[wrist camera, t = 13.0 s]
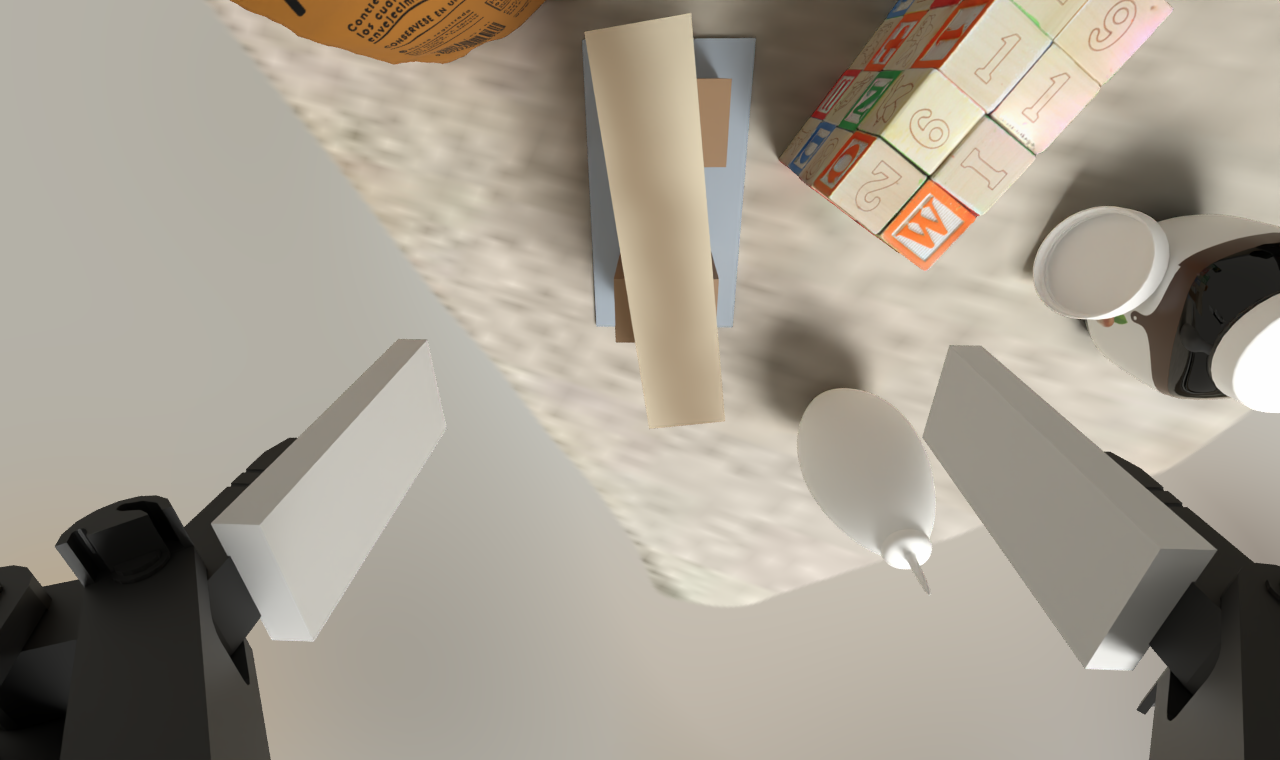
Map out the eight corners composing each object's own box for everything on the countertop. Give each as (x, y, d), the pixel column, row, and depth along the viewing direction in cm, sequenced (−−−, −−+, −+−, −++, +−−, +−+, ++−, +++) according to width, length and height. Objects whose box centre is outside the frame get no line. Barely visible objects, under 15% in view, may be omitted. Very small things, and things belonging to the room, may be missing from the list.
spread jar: (1183, 333, 39) (1365, 422, 29) (1015, 366, 41) (1132, 461, 31) (1223, 161, 34) (1463, 198, 24) (1027, 208, 36) (1172, 261, 26)
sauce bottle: (774, 443, 45) (834, 638, 30) (795, 359, 42) (876, 532, 26) (867, 451, 45) (977, 650, 30) (897, 368, 42) (1040, 546, 26)
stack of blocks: (1071, -241, 26) (1363, -466, 15) (1152, -145, 27) (1469, -287, 17) (775, 161, 35) (826, 199, 24) (848, 217, 36) (926, 276, 26)
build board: (755, 38, 32) (778, 28, 25) (732, 325, 40) (745, 372, 34) (582, 40, 32) (562, 31, 26) (596, 324, 41) (584, 371, 34)
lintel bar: (684, 25, 25) (691, 12, 20) (715, 367, 34) (725, 421, 29) (600, 40, 26) (584, 31, 20) (651, 374, 34) (649, 428, 29)
